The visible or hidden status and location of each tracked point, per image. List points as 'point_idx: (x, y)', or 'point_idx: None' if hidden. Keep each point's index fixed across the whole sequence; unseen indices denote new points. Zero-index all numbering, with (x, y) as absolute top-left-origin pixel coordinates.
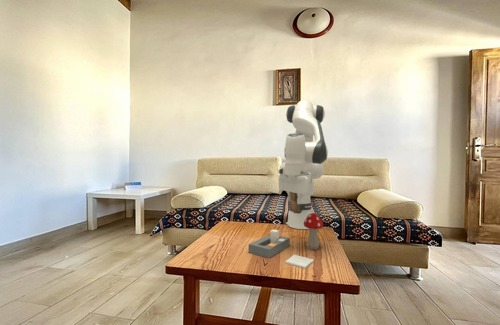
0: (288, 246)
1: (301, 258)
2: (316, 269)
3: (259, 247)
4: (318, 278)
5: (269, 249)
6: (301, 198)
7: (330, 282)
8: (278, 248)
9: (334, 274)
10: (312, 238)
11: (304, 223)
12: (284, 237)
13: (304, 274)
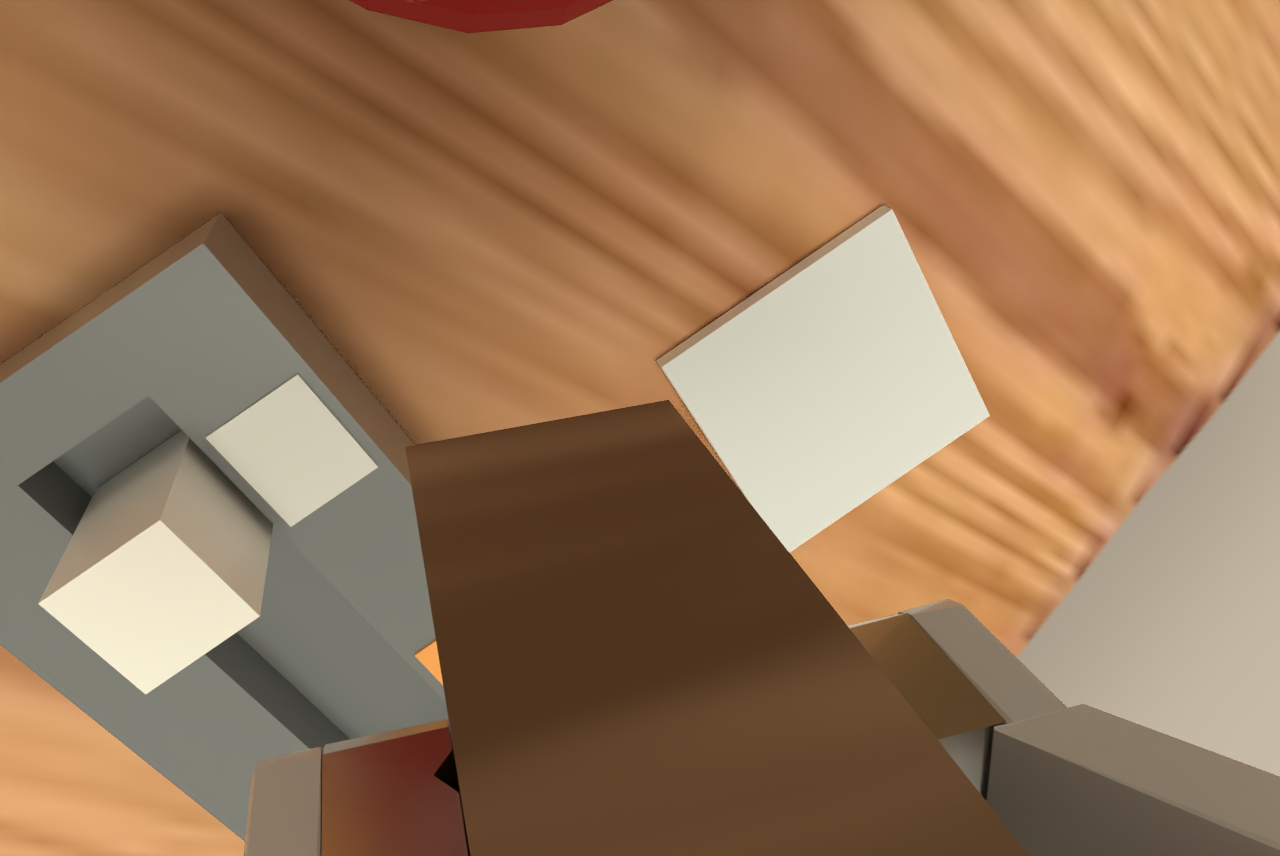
0: (260, 259)
1: (797, 340)
2: (1044, 305)
3: None
4: (1170, 395)
5: None
6: (1169, 768)
7: (1266, 336)
8: None
9: (1206, 195)
10: None
11: (389, 6)
12: (145, 335)
13: (1057, 475)
